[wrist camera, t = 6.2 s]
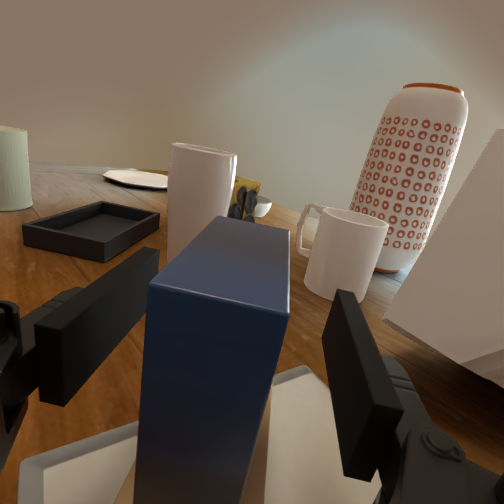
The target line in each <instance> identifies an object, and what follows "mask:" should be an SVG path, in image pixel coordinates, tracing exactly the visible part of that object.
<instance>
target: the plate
mask: <svg viewBox="0 0 504 504" xmlns="http://www.w3.org/2000/svg"><path fill="white" fill-rule="evenodd" d="M103 177H105V178H108V179H110V180H113V181H116V182H119V183H122V184H126V185H129V186H133V187H141V188H148V189H167V179H168V176H165V175H161V174H154V173H147V172H140V171H132V170H108V171H107V172H106V173H105V174H103Z"/></svg>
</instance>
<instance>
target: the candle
mask: <svg viewBox="0 0 504 504" xmlns="http://www.w3.org/2000/svg"><path fill="white" fill-rule="evenodd" d="M260 186H261V183H259V182H256V181H252V180H248V179H245V178H241V177H237V176H235V181H234V187H233V192H232V197H231V202H230V206H229V210H228V214H227V217H228V218H233V219H238V220H243V221H247V222H252V223H255V220H254V218H255V209H256V205H257V197H258V193H259V190H260Z"/></svg>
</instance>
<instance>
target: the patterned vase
mask: <svg viewBox="0 0 504 504" xmlns="http://www.w3.org/2000/svg"><path fill="white" fill-rule="evenodd" d="M463 95H464V92H463V91H462V90H461V89H458V88H456V87H452V86H447V85H442V84H434V83H412V84H407V85H405V86H404V87H403V89H402V90H400V91H398V92H397V93H396V94H394V96H393V97H392V98H391V99H390V101H389V103H388V105H387V107H386V109H385V111H384V114H383V116H382V118H381V121H380V123H379V126H378V128H377V131H376V133H375V136H374V138H373V141H372V144H371V147H370V149H369V152H368V155H367V158H366V161H365V164H364V166H363V169H362V172H361V175H360V178H359V181H358V184H357V187H356V190H355V193H354V196H353V199H352V202H351V205H350V208H349V210H350V211H354V212H358V213H362V214H366V215H369V216H372V217H375V218H378V219H380V220H382V221H384V222H386V223H388V224H389V228H388V231H387V234H386V237H385V240H384V243H383V245H382V248H381V251H380V254H379V257H378V260H377V262H376V265H375V268H374V270H376V271H380V272H386V273H394V272H397V271H399V270H400V269H402V268H405V267H407V266H408V265H410V264H411V263H412V262H414V261H415V260H416V259H417V257H418V256H419V255H420V253H421V251H422V250H423V247H424V245H425V243H426V240H427V237H428V235H429V232H430V229H431V226H432V224H433V221H434V218H435V215H436V213H437V210H438V207H439V204H440V202H441V199H442V196H443V193H444V190H445V188H446V185H447V182H448V179H449V176H450V173H451V170H452V167H453V164H454V161H455V158H456V155H457V152H458V148H459V145H460V142H461V138H462V134H463V131H464V128H465V124H466V120H467V115H468V102H467V100H466V98H465V97H464V96H463Z"/></svg>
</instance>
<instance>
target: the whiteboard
mask: <svg viewBox="0 0 504 504" xmlns="http://www.w3.org/2000/svg"><path fill="white" fill-rule="evenodd" d="M138 422H139V421H136V422H133V423H130V424H127V425H124V426H121V427H118V428H115V429H112V430H109V431H106V432H103V433H100V434H97V435H94V436H91V437H88V438H85V439H82V440H79V441H77V442H74V443H71V444H68V445H65V446H62V447H59V448H56V449H53V450H50V451H47V452H44V453H41V454H38V455H35V456H32V457H29V458H26V459H23V461H22V462H20V464H19V478H18V495H17V504H113V503H114V501H115V499H116V497H117V495H118V493H119V491H120V489H121V487H122V485H123V483H124V481H125V479H126V477H127V475H128V473H129V471H130V469H131V467H132V465H133V463H134V461H135V459H136V450H137V436H138ZM381 486H382V484H381V480H380V477H379V473H378V469H377V470H376V472H375V474H374V476H373V478H372V481H371V483H369V482H365V481H361V480H357V479H353V478H349V477H345V476H344V475H343V469H342V462H341V456H340V450H339V444H338V438H337V431H336V425H335V419H334V413H333V407H332V400H331V394H330V389H329V388H328V387H327V386H326V385H325V384H324V383H323V382H322V381H321V380H320V379H319V378H318V377H317V376H316V375H315V374H314V373H313V372H312V371H311V370H310V369H309V368H308V367H307V366H305V365H302V366H299V367H296V368H293V369H290V370H287V371H285V372H282V373H279V374H276V375H274V377H273V387H272V401H271V415H270V428H269V442H268V456H267V470H266V483H265V497H264V504H373V502H374V500H375V498H376V496H377V494H378V492H379V490H380V488H381Z"/></svg>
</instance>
